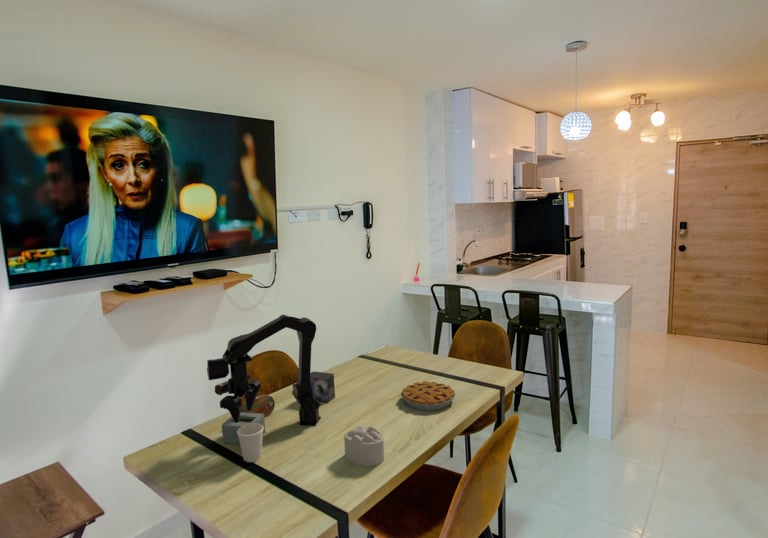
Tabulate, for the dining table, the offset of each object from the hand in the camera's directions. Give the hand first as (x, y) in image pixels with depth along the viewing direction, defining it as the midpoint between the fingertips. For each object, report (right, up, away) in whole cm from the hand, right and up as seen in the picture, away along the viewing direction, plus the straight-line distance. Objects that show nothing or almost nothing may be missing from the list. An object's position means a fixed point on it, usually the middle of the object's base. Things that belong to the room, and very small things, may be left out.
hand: (243, 416), depth 167 cm
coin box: (0, -8, +1) cm, 8 cm away
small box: (+23, -3, +33) cm, 40 cm away
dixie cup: (+7, -10, -12) cm, 17 cm away
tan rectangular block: (0, -7, +1) cm, 7 cm away
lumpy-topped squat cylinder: (+44, -9, -14) cm, 47 cm away
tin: (+1, -6, +16) cm, 17 cm away
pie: (+68, -2, +26) cm, 73 cm away
